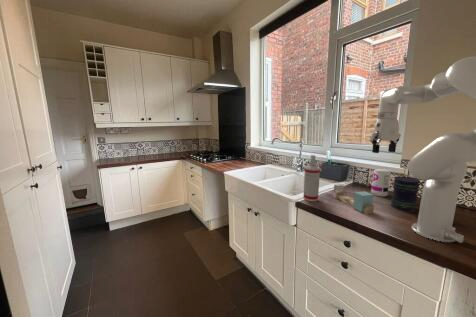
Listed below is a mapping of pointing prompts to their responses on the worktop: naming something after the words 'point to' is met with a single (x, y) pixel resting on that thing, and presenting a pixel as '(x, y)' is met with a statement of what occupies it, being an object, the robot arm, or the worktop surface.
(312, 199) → the spray bottle
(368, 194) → the block
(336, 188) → the rail
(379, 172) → the supplement can
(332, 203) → the worktop surface
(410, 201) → the storage jar
